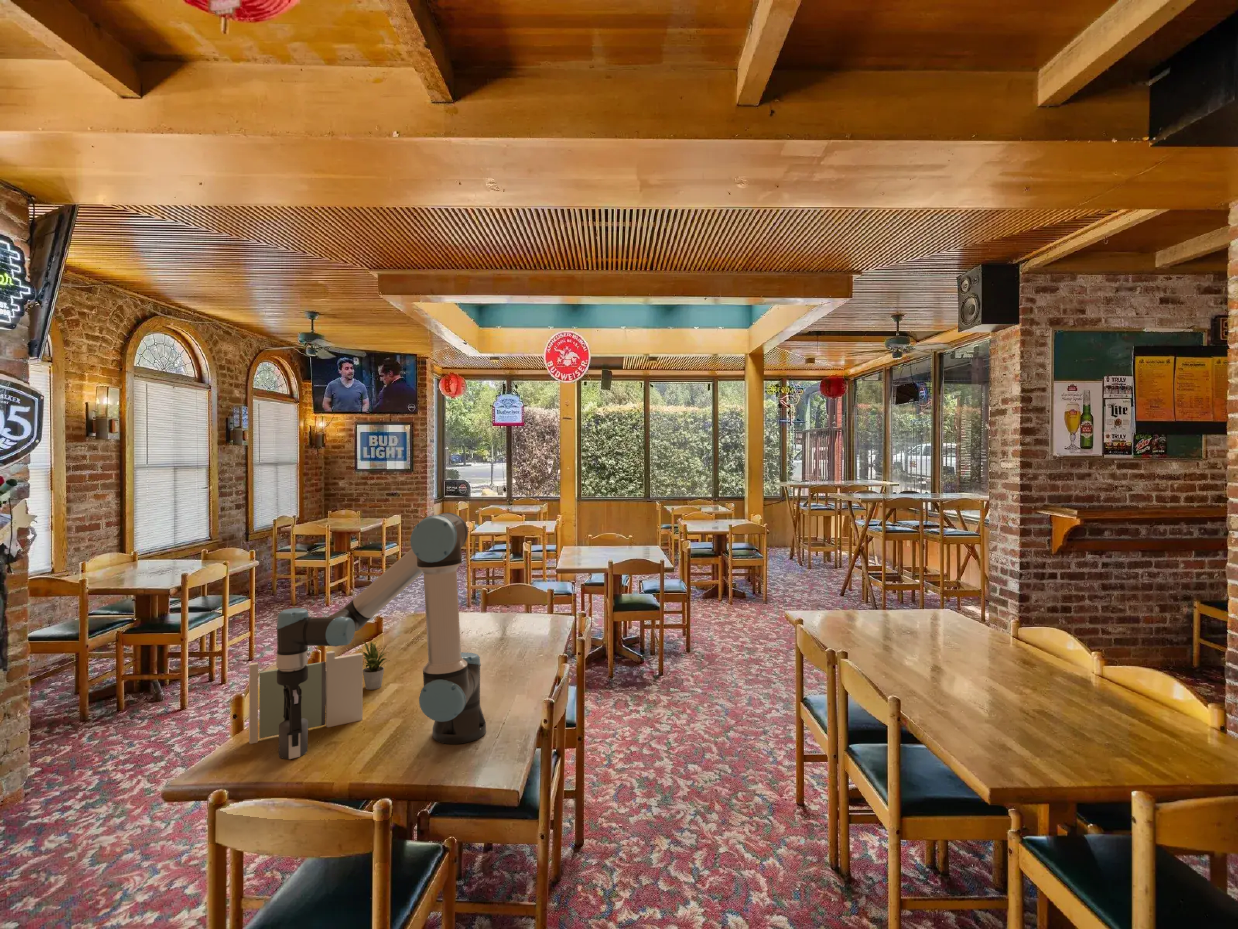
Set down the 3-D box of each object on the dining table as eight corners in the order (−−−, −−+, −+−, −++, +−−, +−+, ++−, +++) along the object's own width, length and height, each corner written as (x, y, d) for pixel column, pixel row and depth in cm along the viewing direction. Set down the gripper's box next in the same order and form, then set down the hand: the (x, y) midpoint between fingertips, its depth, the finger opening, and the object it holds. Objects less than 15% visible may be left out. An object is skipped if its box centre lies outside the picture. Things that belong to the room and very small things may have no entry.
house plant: (339, 688, 223) (339, 641, 223) (374, 677, 234) (374, 633, 234) (364, 697, 215) (364, 648, 215) (399, 685, 226) (399, 639, 226)
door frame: (362, 720, 195) (362, 648, 195) (249, 744, 178) (249, 665, 178) (361, 717, 197) (361, 646, 197) (249, 741, 180) (249, 663, 180)
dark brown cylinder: (308, 755, 172) (309, 725, 172) (279, 761, 168) (279, 730, 168) (306, 745, 178) (306, 716, 178) (277, 750, 174) (278, 721, 174)
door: (325, 724, 190) (326, 662, 190) (259, 738, 180) (260, 673, 180) (325, 723, 191) (325, 661, 191) (259, 737, 181) (259, 671, 181)
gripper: (314, 674, 167) (313, 762, 167) (301, 655, 183) (301, 735, 183) (281, 680, 162) (281, 770, 162) (272, 660, 179) (272, 742, 179)
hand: (292, 752), depth 173 cm, fingers closed on dark brown cylinder, 7 cm apart
